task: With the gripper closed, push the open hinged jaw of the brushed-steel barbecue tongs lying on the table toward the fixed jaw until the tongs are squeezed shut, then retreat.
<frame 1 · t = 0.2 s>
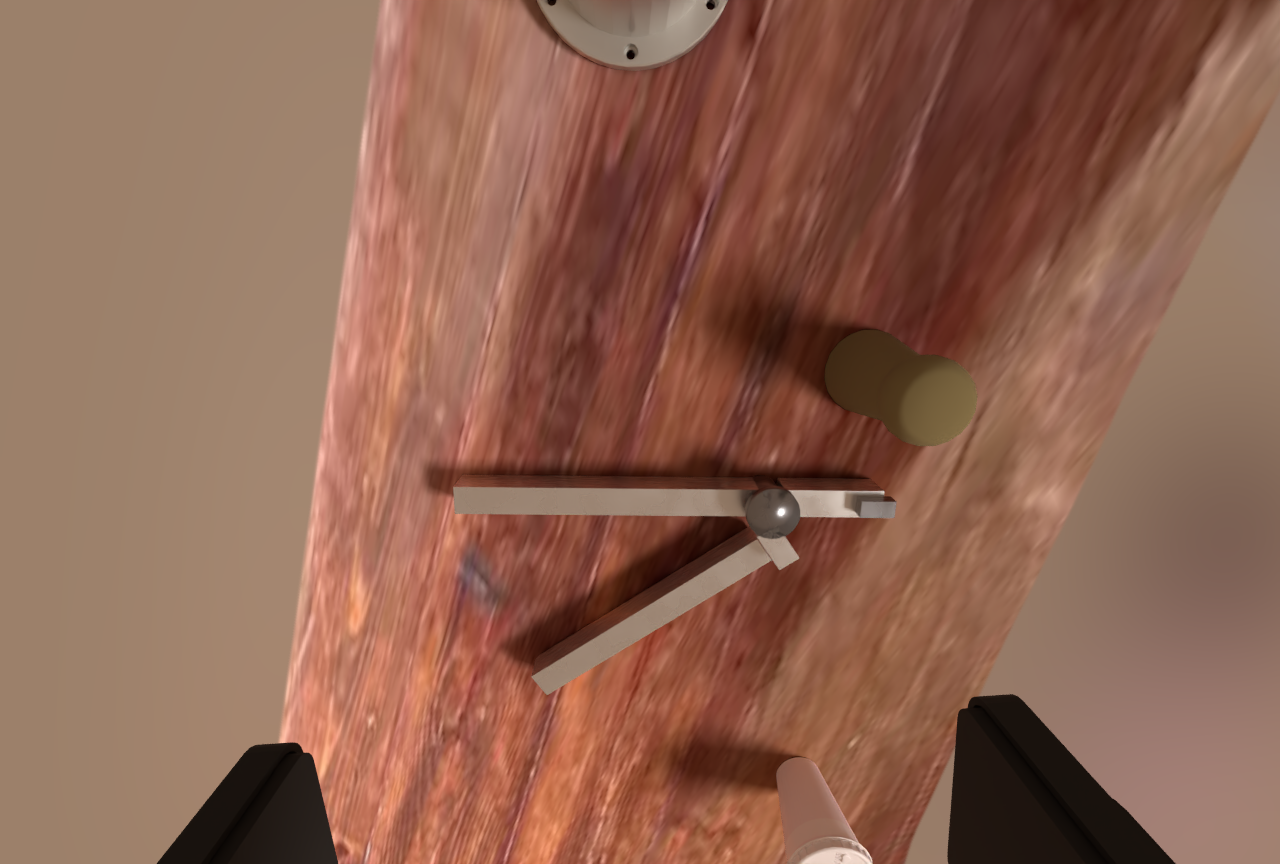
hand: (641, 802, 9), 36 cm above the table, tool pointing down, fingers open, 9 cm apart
smoothie: (796, 773, 54), on the table
olive pepper mill: (865, 371, 45), on the table
tongs fixed: (760, 490, 47), on the table
tongs jaw: (656, 586, 46), point 3 cm above the table, hinge at 35.0°
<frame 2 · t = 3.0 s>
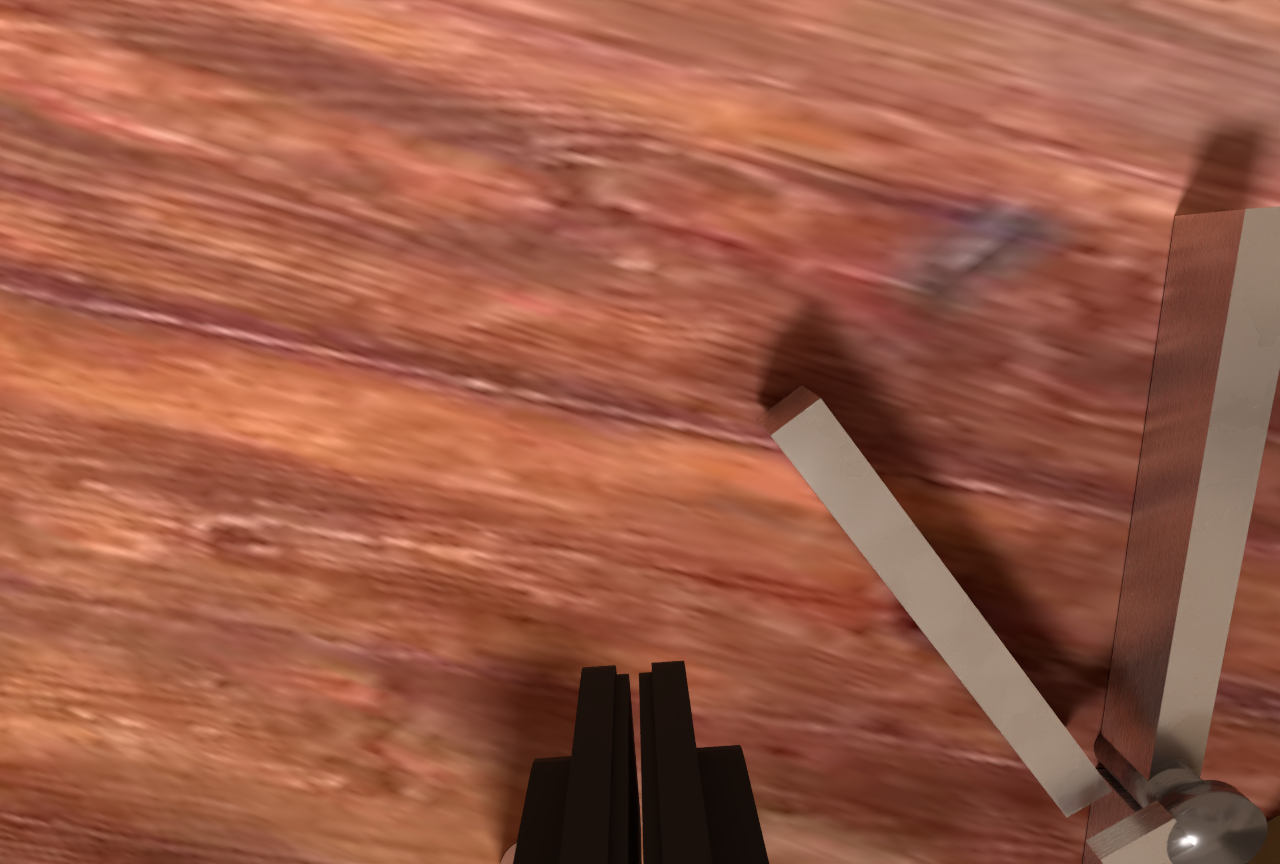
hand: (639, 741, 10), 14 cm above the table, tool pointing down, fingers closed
tongs fixed: (1122, 745, 27), on the table
tongs jaw: (1020, 631, 23), point 3 cm above the table, hinge at 35.0°
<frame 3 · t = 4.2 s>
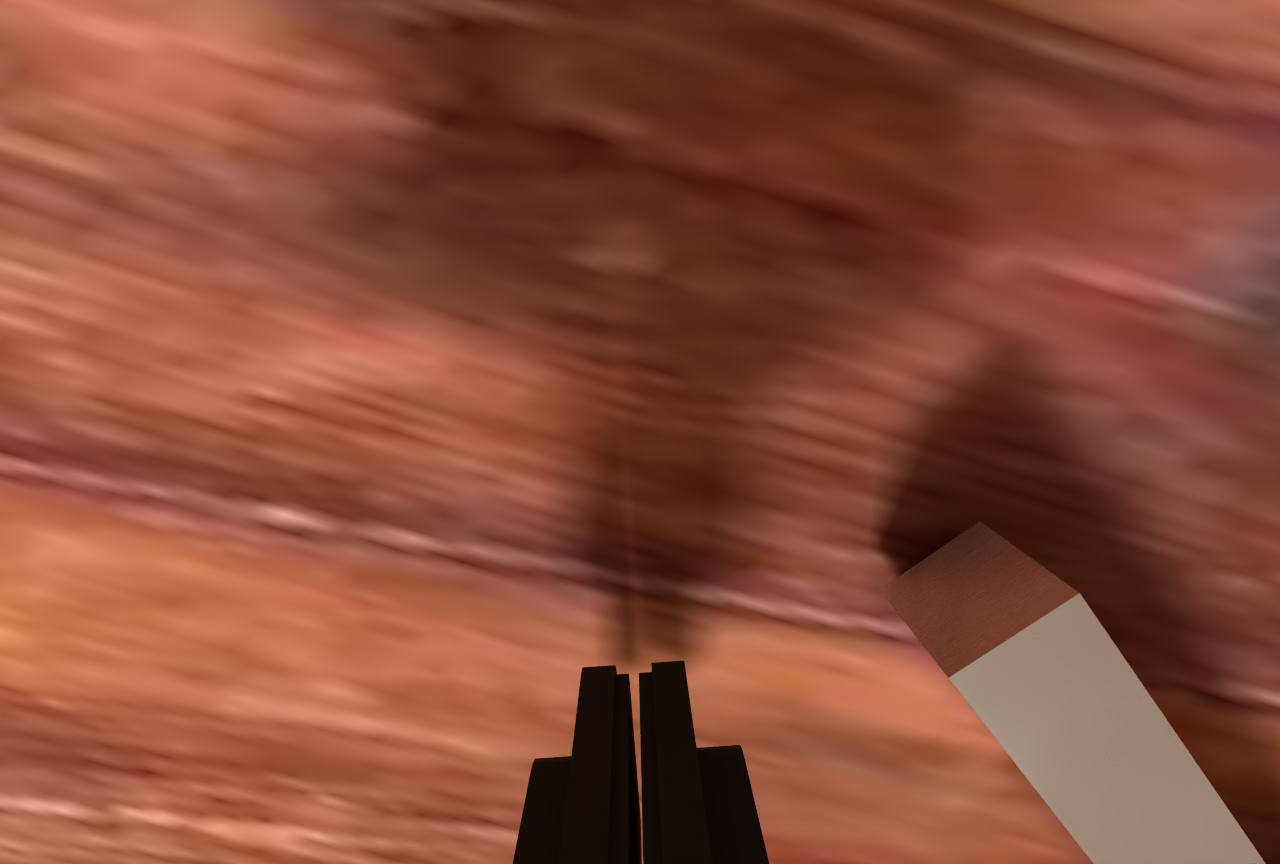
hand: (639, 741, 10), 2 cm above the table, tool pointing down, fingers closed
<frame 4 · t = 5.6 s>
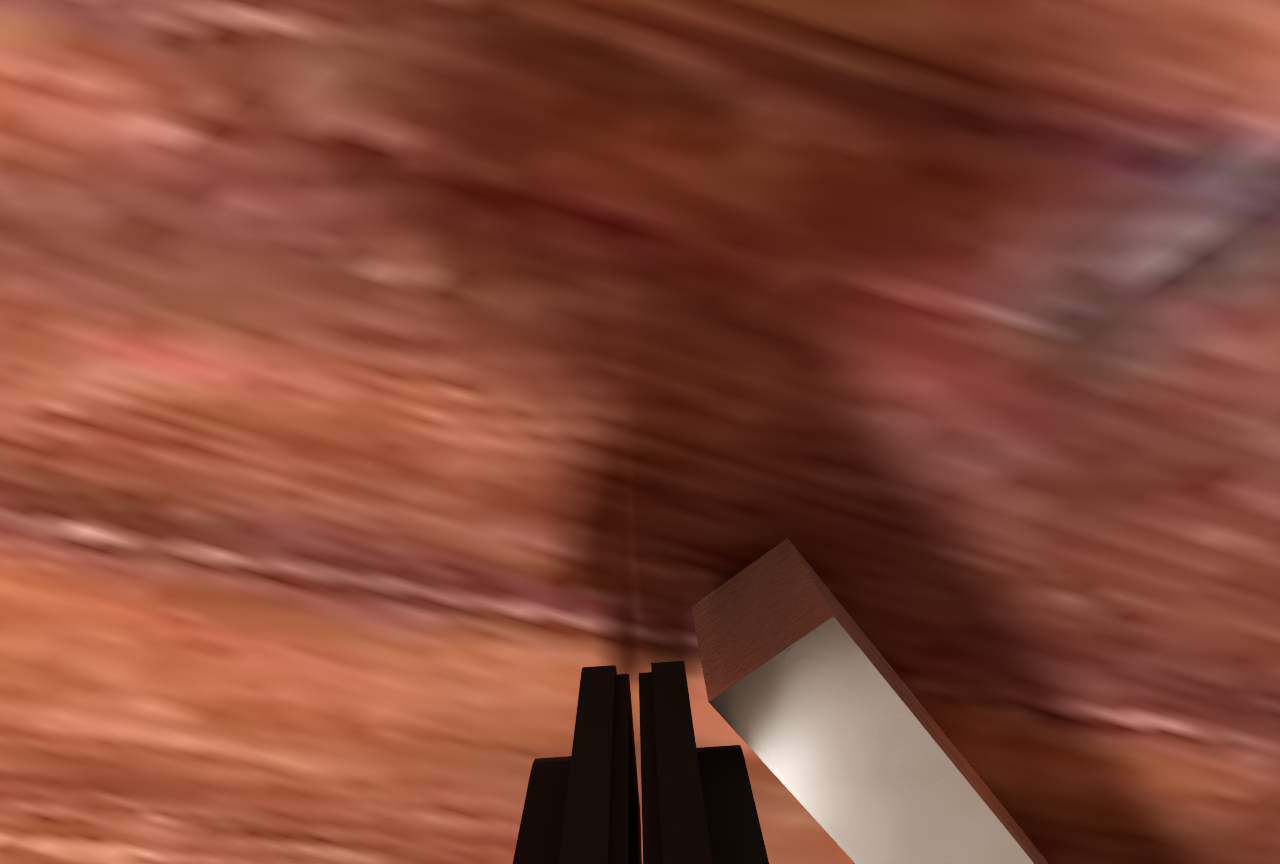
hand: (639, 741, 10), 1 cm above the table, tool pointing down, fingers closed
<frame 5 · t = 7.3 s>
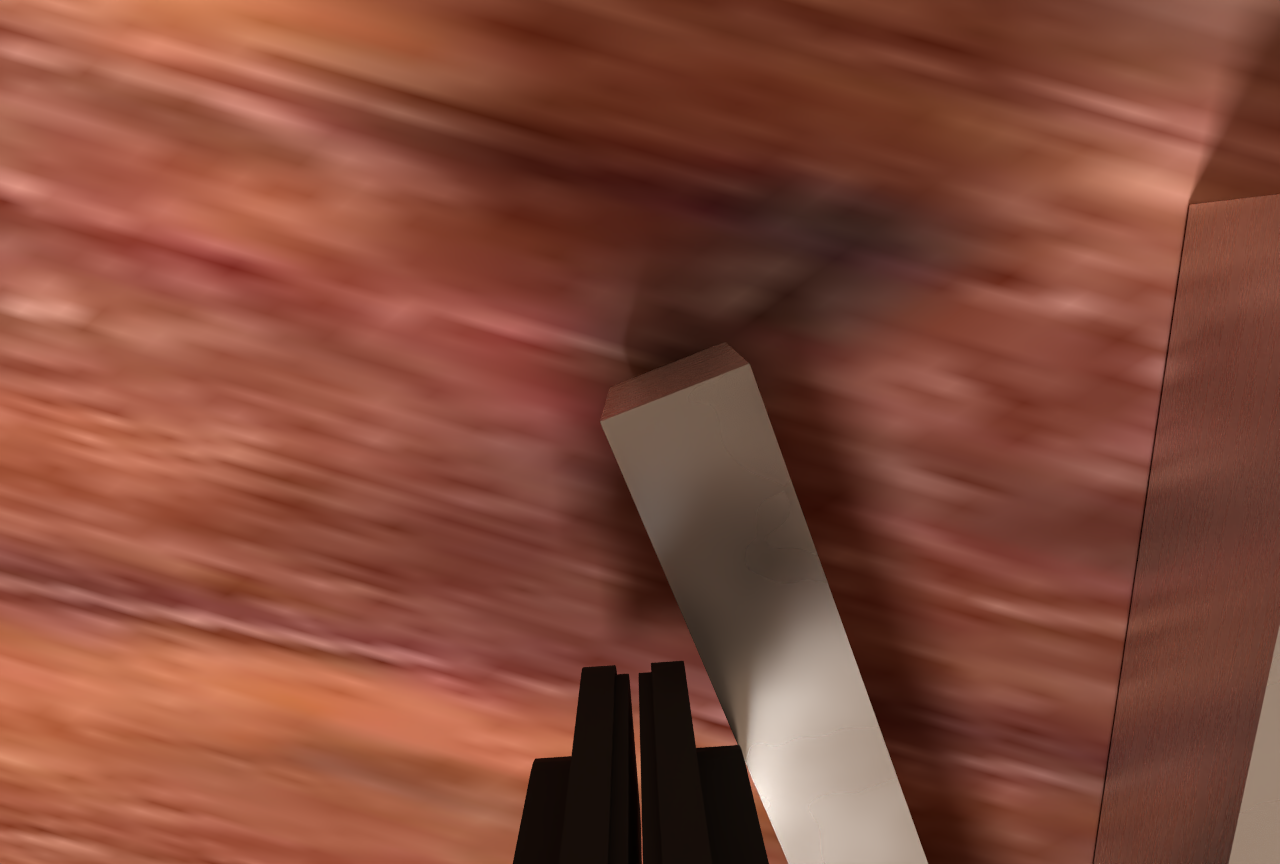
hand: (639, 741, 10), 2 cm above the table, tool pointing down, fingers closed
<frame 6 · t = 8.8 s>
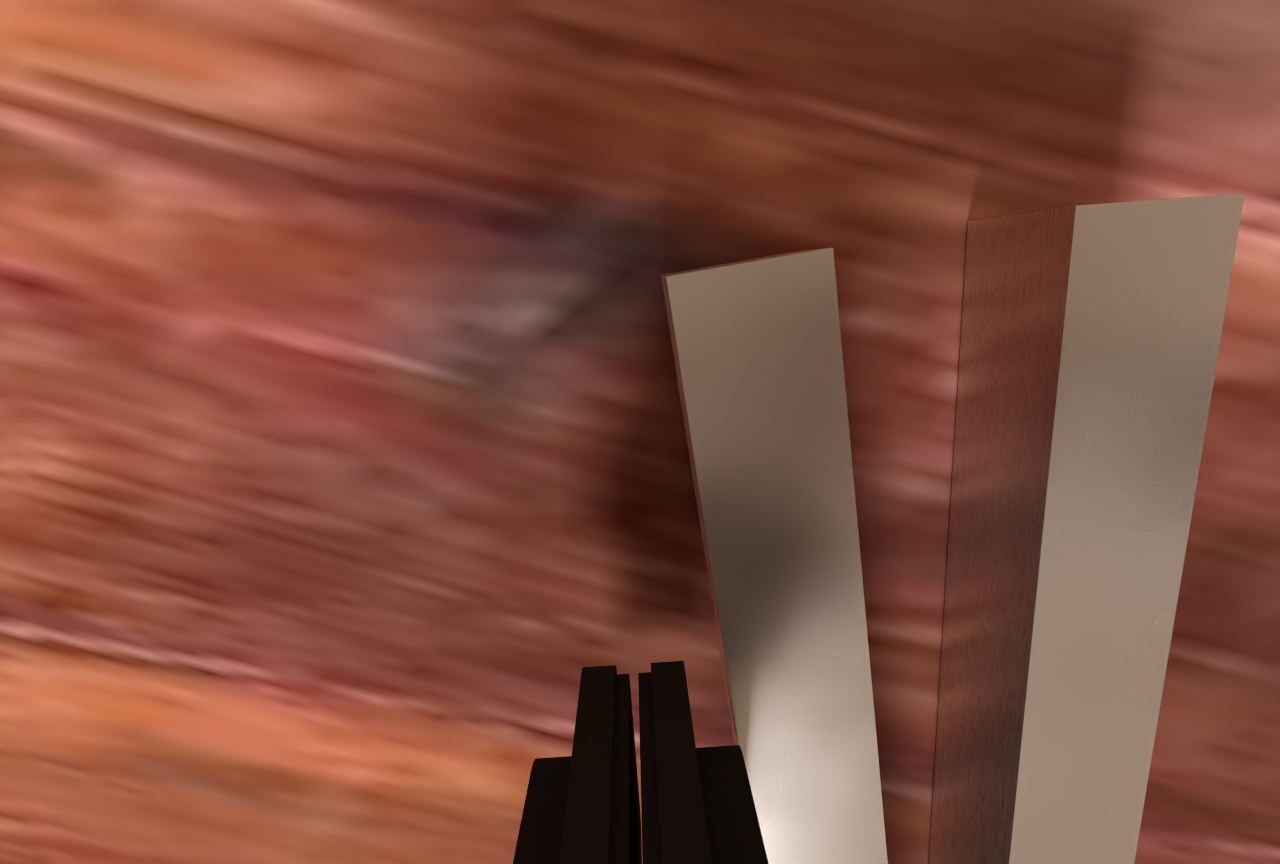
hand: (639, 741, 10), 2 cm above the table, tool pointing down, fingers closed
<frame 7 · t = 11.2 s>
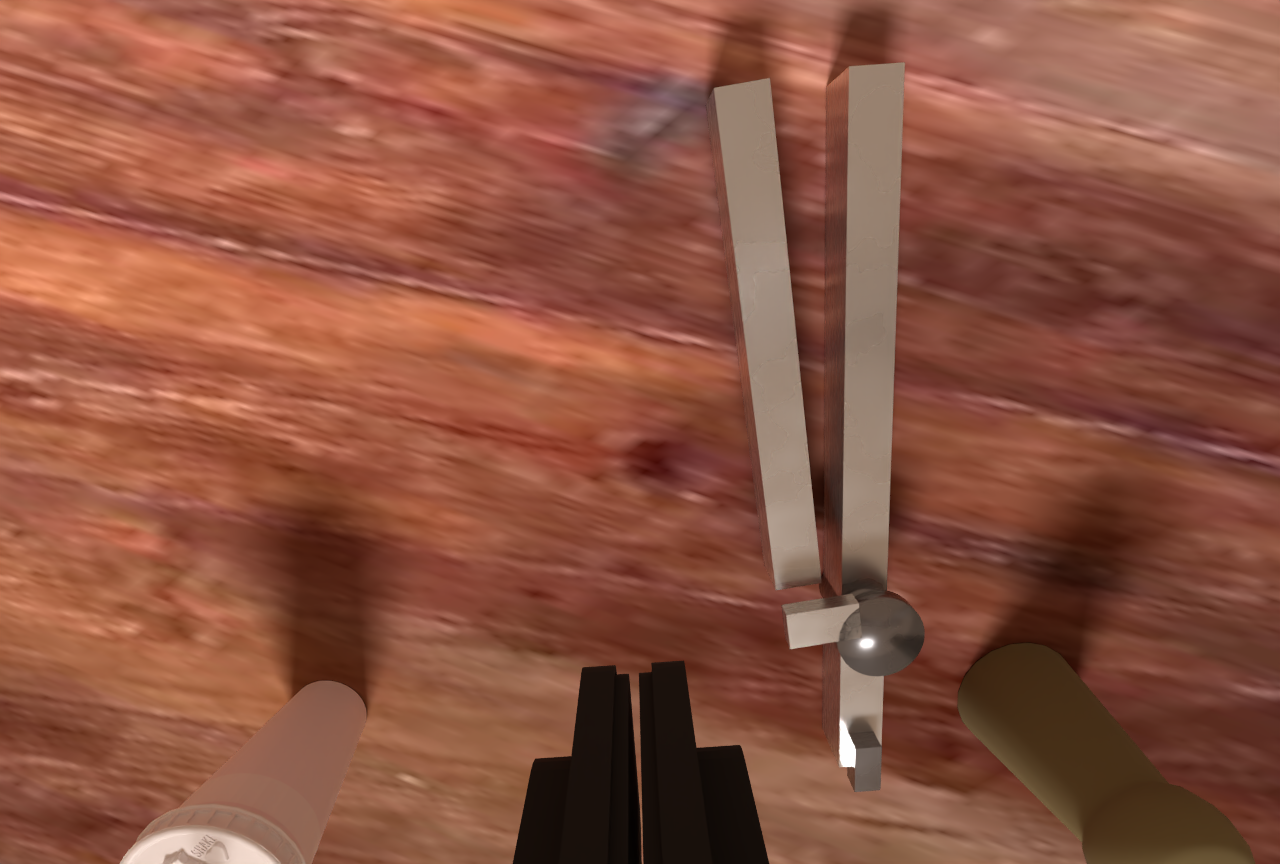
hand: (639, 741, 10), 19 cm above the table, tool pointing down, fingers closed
smoothie: (331, 709, 32), on the table
olive pepper mill: (1013, 691, 32), on the table
tongs fixed: (843, 584, 30), on the table
tongs jaw: (820, 397, 25), point 3 cm above the table, hinge at 5.5°
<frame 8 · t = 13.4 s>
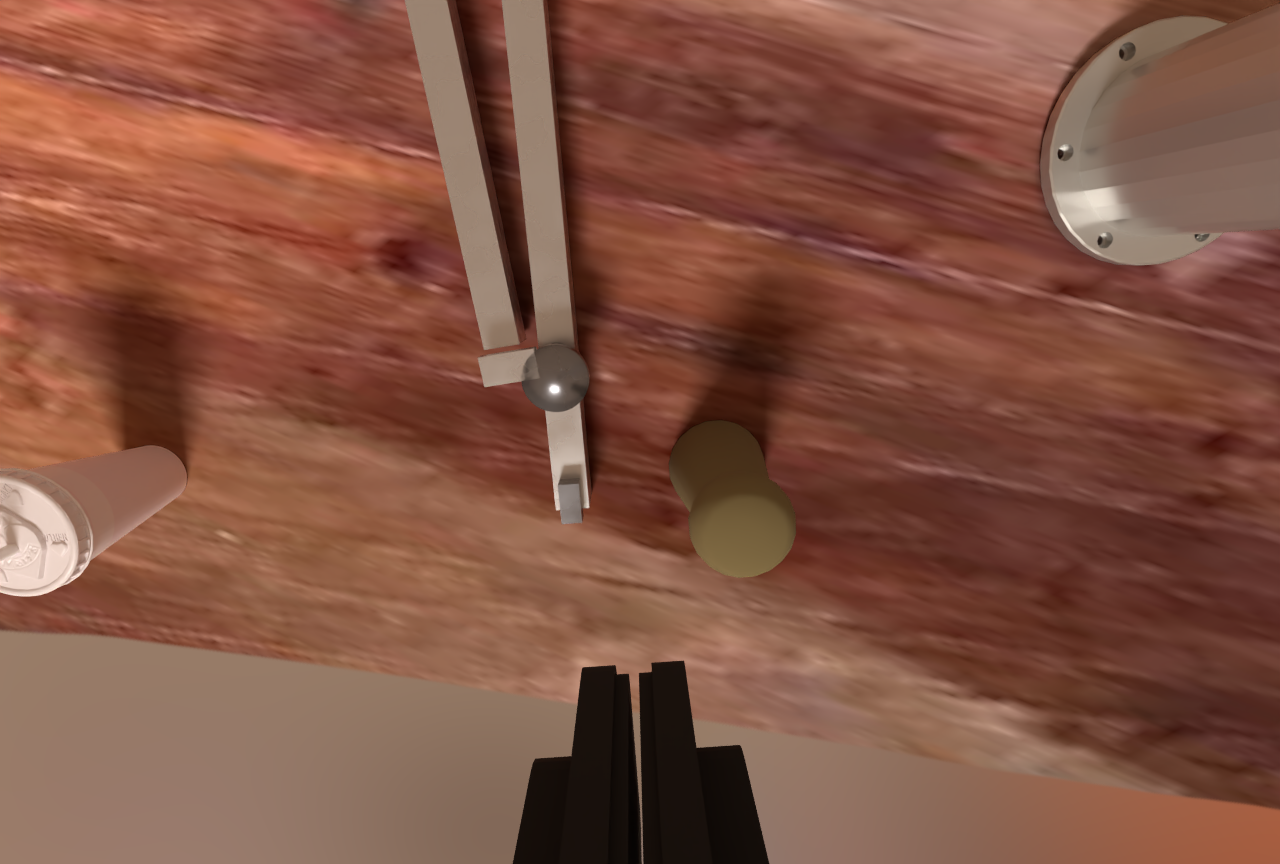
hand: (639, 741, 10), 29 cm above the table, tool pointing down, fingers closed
smoothie: (159, 472, 39), on the table
olive pepper mill: (715, 465, 40), on the table
tongs fixed: (563, 366, 38), on the table
tongs jaw: (503, 188, 33), point 3 cm above the table, hinge at 5.5°
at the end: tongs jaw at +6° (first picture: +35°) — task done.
